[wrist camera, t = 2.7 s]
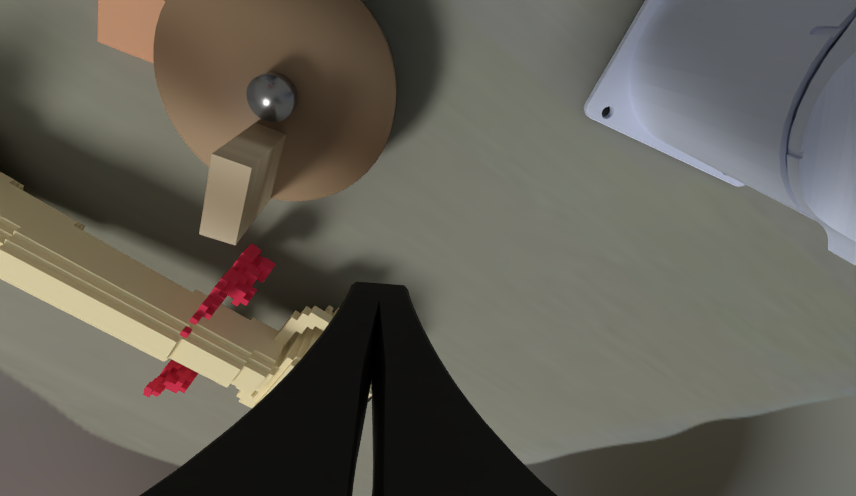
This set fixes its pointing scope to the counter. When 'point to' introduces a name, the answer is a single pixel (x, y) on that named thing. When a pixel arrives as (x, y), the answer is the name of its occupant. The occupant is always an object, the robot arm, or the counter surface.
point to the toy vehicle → (152, 302)
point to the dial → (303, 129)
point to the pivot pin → (272, 96)
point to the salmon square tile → (129, 25)
